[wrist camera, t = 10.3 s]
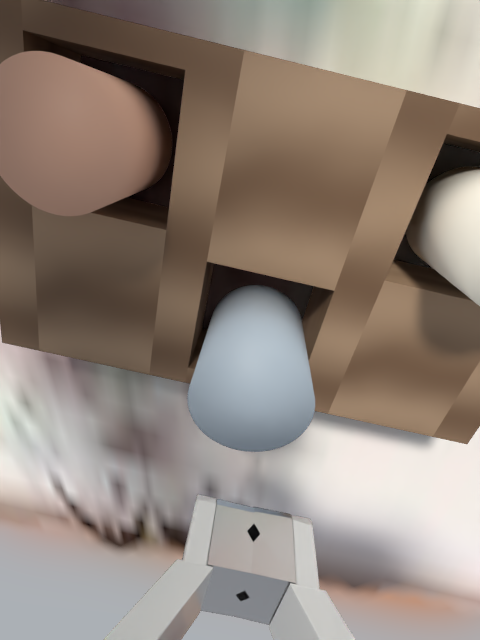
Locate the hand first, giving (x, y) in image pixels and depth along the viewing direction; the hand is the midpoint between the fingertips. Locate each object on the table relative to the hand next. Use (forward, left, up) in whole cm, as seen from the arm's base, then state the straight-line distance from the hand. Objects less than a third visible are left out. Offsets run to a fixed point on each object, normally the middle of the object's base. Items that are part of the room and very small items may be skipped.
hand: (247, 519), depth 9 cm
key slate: (0, 0, -10) cm, 10 cm away
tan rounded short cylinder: (-7, -8, -12) cm, 16 cm away
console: (-4, 0, -14) cm, 15 cm away
